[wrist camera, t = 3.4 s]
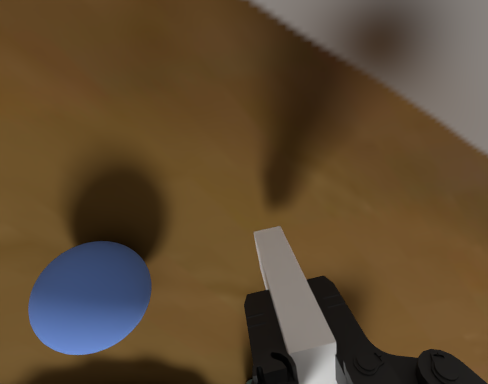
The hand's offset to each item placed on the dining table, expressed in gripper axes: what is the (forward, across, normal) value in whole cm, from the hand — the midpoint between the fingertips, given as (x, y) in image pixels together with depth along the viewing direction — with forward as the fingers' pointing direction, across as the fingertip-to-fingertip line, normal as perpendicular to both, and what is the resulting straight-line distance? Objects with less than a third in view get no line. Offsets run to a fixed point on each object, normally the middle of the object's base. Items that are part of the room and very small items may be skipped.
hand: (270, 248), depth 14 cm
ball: (0, +10, 0) cm, 10 cm away
